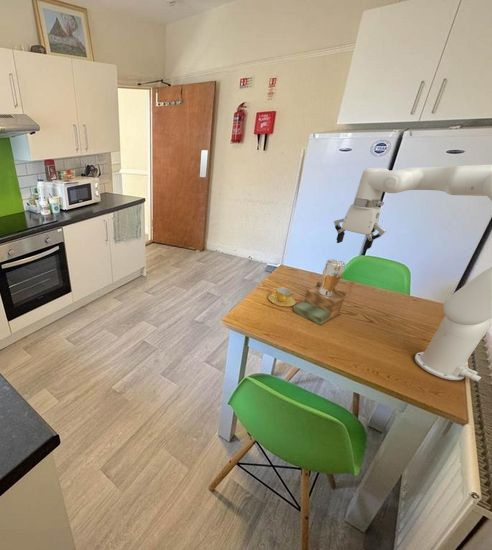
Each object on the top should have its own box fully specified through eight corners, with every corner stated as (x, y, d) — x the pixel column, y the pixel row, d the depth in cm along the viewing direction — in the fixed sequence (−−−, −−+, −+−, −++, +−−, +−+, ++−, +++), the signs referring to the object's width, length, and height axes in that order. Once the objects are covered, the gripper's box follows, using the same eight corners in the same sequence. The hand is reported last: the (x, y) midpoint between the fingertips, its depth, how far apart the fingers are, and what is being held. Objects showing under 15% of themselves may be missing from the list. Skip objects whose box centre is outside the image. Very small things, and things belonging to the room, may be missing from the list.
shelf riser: (339, 313, 132) (346, 292, 127) (319, 324, 125) (327, 302, 120) (312, 301, 141) (318, 281, 136) (293, 311, 134) (298, 290, 129)
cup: (292, 295, 147) (294, 285, 144) (298, 308, 136) (301, 298, 134) (266, 292, 149) (268, 283, 147) (270, 305, 139) (272, 295, 137)
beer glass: (313, 290, 133) (322, 260, 126) (326, 288, 134) (336, 258, 127) (325, 298, 127) (335, 266, 120) (339, 296, 128) (350, 265, 121)
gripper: (399, 205, 105) (382, 250, 113) (346, 197, 119) (334, 238, 126) (389, 208, 102) (372, 254, 109) (336, 200, 115) (324, 241, 123)
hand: (352, 245), depth 118 cm, fingers open, 9 cm apart
